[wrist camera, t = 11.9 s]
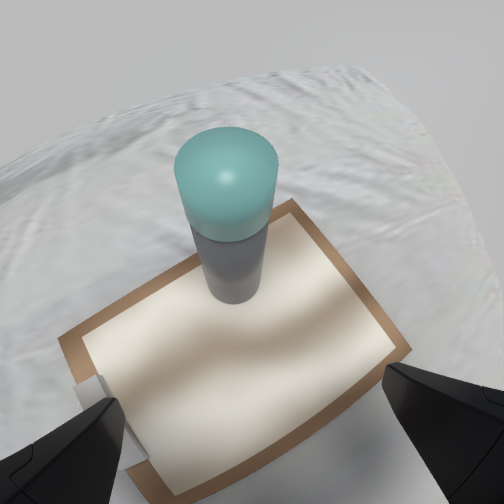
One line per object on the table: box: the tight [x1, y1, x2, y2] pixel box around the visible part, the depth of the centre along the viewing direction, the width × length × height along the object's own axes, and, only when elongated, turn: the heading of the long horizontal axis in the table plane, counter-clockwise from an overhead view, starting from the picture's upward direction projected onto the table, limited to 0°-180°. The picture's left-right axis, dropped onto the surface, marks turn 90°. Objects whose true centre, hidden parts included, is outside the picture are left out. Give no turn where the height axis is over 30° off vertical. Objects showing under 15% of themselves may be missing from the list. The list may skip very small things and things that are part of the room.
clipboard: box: [58, 198, 412, 504], centre depth 18 cm, size 14×20×2 cm
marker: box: [174, 127, 279, 304], centre depth 15 cm, size 4×4×11 cm
